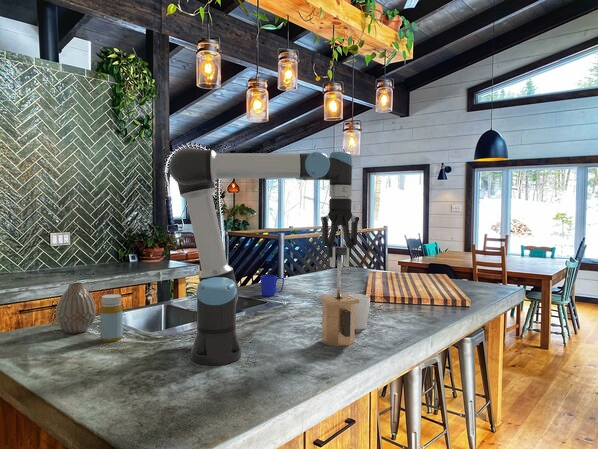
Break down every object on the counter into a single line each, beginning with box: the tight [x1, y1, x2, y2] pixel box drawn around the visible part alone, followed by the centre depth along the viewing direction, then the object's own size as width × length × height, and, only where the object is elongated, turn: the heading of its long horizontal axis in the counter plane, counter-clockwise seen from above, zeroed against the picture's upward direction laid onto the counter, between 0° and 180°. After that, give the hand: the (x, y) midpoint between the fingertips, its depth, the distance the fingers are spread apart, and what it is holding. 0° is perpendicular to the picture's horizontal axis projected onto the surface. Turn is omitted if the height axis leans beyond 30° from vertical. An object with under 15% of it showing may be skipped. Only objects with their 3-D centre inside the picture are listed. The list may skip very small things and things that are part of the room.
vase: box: [55, 281, 97, 334], centre depth 161 cm, size 13×13×18 cm
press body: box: [318, 293, 359, 347], centre depth 151 cm, size 10×13×15 cm
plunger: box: [333, 246, 346, 299], centre depth 152 cm, size 8×8×20 cm
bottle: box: [99, 293, 124, 343], centre depth 151 cm, size 7×7×15 cm
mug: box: [259, 274, 285, 297], centre depth 227 cm, size 8×12×10 cm
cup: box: [348, 293, 371, 331], centre depth 170 cm, size 9×9×12 cm
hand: (339, 266), depth 152 cm, fingers closed on plunger, 4 cm apart
